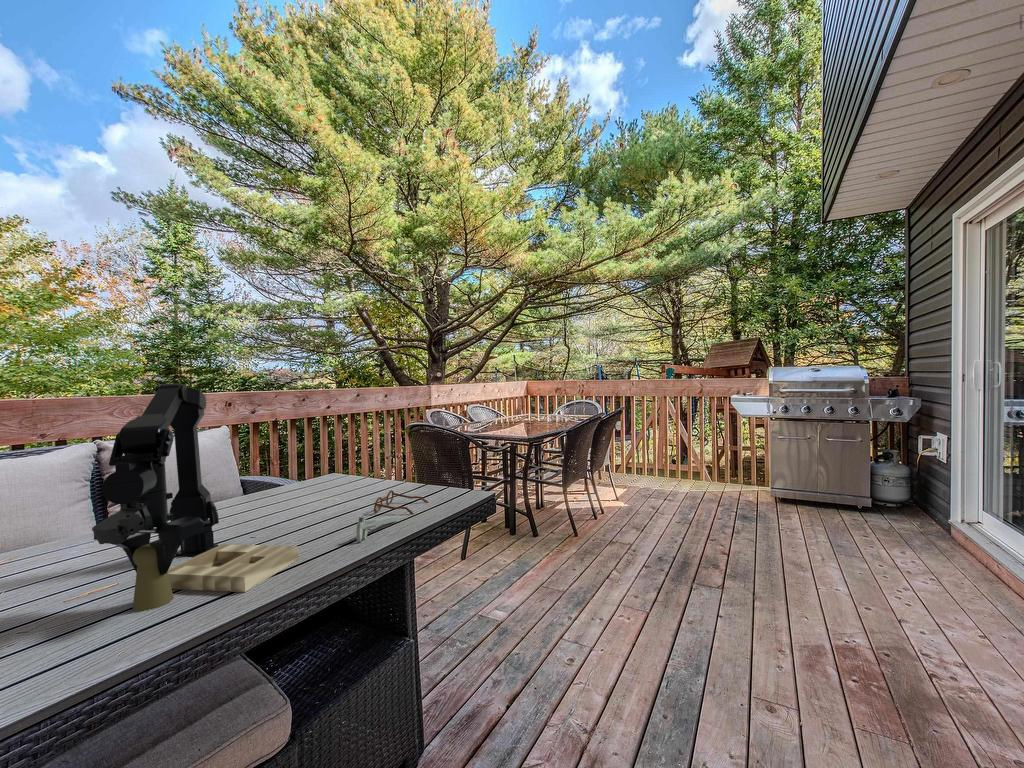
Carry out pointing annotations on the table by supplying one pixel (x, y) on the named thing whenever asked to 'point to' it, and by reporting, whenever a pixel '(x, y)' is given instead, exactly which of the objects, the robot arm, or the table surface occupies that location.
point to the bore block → (231, 567)
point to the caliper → (371, 525)
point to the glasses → (391, 501)
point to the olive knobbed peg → (150, 581)
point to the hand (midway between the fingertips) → (152, 573)
